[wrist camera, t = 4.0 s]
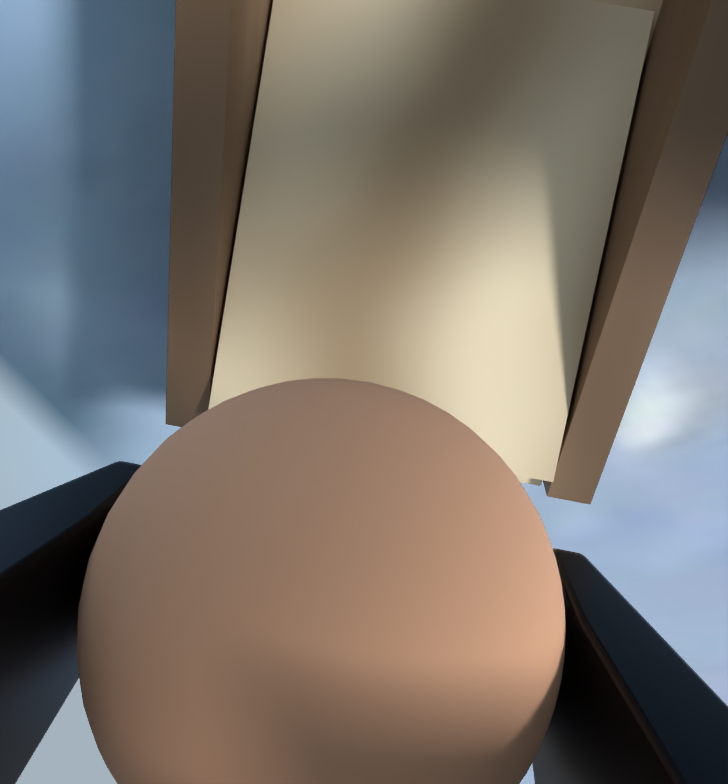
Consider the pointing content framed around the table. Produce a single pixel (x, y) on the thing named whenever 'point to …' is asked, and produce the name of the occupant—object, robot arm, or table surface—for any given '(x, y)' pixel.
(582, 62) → the brown wooden open box
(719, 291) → the table surface
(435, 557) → the ball
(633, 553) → the table surface
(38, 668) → the robot arm
